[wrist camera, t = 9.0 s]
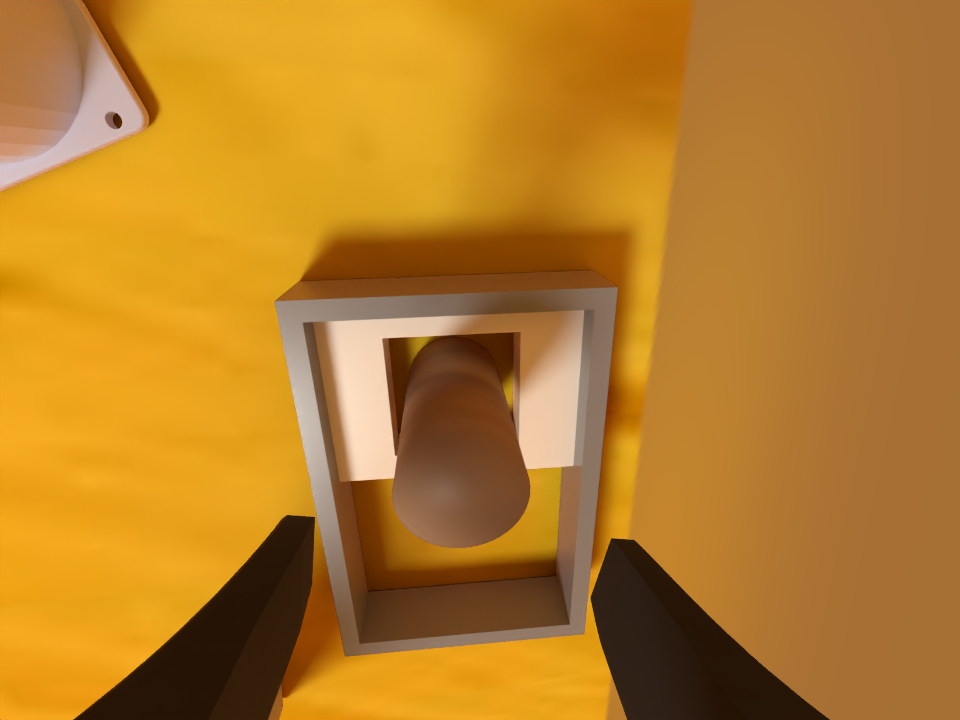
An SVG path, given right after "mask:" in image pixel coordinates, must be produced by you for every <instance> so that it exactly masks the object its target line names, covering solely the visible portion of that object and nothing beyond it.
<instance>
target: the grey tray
mask: <svg viewBox="0 0 960 720" xmlns="http://www.w3.org/2000/svg"><path fill="white" fill-rule="evenodd" d="M617 293H618V287H617V286H616V285H614V284H613V283H611V282H610V281H608V280H607V279H605V278H604V277H602V276H601V275H599V274H598V273H596V272H595V271H593V270H580V271H553V272H527V273H501V274H475V275H449V276H423V277H396V278H370V279H344V280H318V281H299V282H297V283H296V284H295V285H294V286H293V287H291V288H290V289H289V290H288V291H286V292H285V293H284V294H283V295H282V296H280V297H279V298H278V299H277V300H275V306H276V311H277V316H278V321H279V326H280V331H281V336H282V341H283V347H284V352H285V357H286V362H287V367H288V372H289V377H290V382H291V387H292V392H293V397H294V402H295V407H296V412H297V417H298V422H299V427H300V432H301V437H302V442H303V447H304V452H305V457H306V462H307V467H308V472H309V477H310V482H311V488H312V493H313V498H314V503H315V508H316V513H317V518H318V523H319V528H320V533H321V538H322V543H323V548H324V553H325V558H326V563H327V568H328V573H329V578H330V583H331V588H332V593H333V598H334V603H335V608H336V613H337V618H338V623H339V628H340V634H341V639H342V644H343V649H344V654H345V656H356V655H367V654H377V653H388V652H399V651H410V650H420V649H431V648H442V647H452V646H463V645H474V644H484V643H495V642H506V641H516V640H527V639H538V638H548V637H559V636H570V635H580V634H584V632H585V622H586V611H587V601H588V591H589V581H590V570H591V560H592V550H593V540H594V529H595V519H596V509H597V498H598V488H599V478H600V468H601V457H602V447H603V437H604V426H605V416H606V406H607V396H608V385H609V375H610V365H611V355H612V344H613V334H614V324H615V313H616V303H617ZM507 332H514V357H513V425H514V428H515V432H516V435H517V439H518V442H519V446H520V449H521V452H522V456H523V459H524V463H525V466H526V469H537V468H552V467H562V477H561V495H560V512H559V529H558V546H557V563H556V576H549V577H537V578H525V579H513V580H501V581H489V582H477V583H466V584H454V585H442V586H430V587H418V588H406V589H394V590H383V591H371V592H368V587H367V581H366V575H365V568H364V562H363V555H362V549H361V543H360V536H359V530H358V524H357V517H356V511H355V504H354V498H353V492H352V485H351V481H360V480H375V479H390V478H394V475H395V468H396V461H397V454H398V447H399V440H400V434H398V426H397V416H396V406H395V397H394V387H393V377H392V368H391V358H390V348H389V339H388V338H401V337H422V336H444V335H465V334H486V333H507Z"/></svg>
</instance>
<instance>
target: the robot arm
mask: <svg viewBox="0 0 960 720" xmlns="http://www.w3.org/2000/svg"><path fill="white" fill-rule="evenodd" d="M116 113H117V114H118V115H119V116H120V117H121V119H122V126H121V127H120V128H119V129H118V128H117V127H116V126H115V125H114V122H113V115H115V114H116ZM148 124H149V115H148V113H147V110H146V108H145V107H144V105H143V103H142V102H141V100H140V98H139V96H138V95H137V93H136V91H135V90H134V88H133V86H132V84H131V83H130V81H129V79H128V78H127V76H126V74H125V73H124V71H123V69H122V67H121V66H120V64H119V62H118V61H117V59H116V57H115V55H114V54H113V52H112V50H111V49H110V47H109V45H108V44H107V42H106V40H105V38H104V37H103V35H102V33H101V32H100V30H99V28H98V26H97V25H96V23H95V21H94V20H93V18H92V16H91V15H90V13H89V11H88V9H87V8H86V6H85V4H84V3H83V1H82V0H0V192H1V191H3V190H5V189H8V188H10V187H12V186H15V185H17V184H19V183H22V182H24V181H26V180H29V179H31V178H34V177H36V176H38V175H41V174H43V173H45V172H48V171H50V170H52V169H55V168H57V167H59V166H62V165H64V164H66V163H69V162H71V161H74V160H76V159H78V158H81V157H83V156H85V155H88V154H90V153H92V152H95V151H97V150H99V149H102V148H104V147H106V146H109V145H111V144H114V143H116V142H118V141H121V140H123V139H125V138H128V137H130V136H132V135H135V134H137V133H139V132H142V131H143V130H145V129H146V128H147V127H148ZM314 527H315V517H306V516H292V515H287V516H285V517H284V518H283V519H282V520H281V521H280V522H279V523H278V525H277V526H276V527H275V529H274V530H273V531H272V532H271V533H270V535H269V536H268V537H267V538H266V540H265V541H264V542H263V543H262V544H261V545H260V547H259V548H258V549H257V550H256V551H255V552H254V553H253V555H252V556H251V557H250V558H249V559H248V560H247V561H246V563H245V564H244V565H243V566H242V567H241V568H240V569H239V570H238V571H237V572H236V573H235V574H234V576H233V577H232V578H231V579H230V580H229V581H228V582H227V583H226V584H225V585H224V586H223V587H222V588H221V589H220V590H219V592H218V593H217V594H216V595H215V596H214V597H213V598H212V599H211V600H210V601H209V602H208V603H207V604H206V605H205V606H203V607H202V608H201V609H200V610H199V611H198V612H197V613H196V614H195V615H194V616H193V617H192V618H191V619H190V620H189V621H188V622H187V623H186V624H185V625H184V626H183V627H182V628H181V629H180V630H179V631H178V632H177V633H176V634H175V635H173V636H172V637H171V638H170V639H169V640H168V641H167V642H166V643H165V644H164V645H163V646H161V647H160V648H159V649H158V650H157V651H156V652H155V653H154V654H153V655H151V656H150V657H149V658H148V659H147V660H146V661H144V662H143V663H142V664H141V665H140V666H139V667H138V668H136V669H135V670H134V671H133V672H132V673H131V674H129V675H128V676H127V677H126V678H125V679H123V680H122V681H121V682H120V683H118V684H117V685H116V686H115V687H114V688H112V689H111V690H110V691H109V692H107V693H106V694H105V695H104V696H102V697H101V698H100V699H99V700H97V701H96V702H95V703H94V704H93V705H91V706H90V707H89V708H88V709H86V710H85V711H84V712H83V713H81V714H80V715H79V716H77V717H76V718H75V719H74V720H268V718H269V716H270V713H271V710H272V707H273V705H274V702H275V699H276V696H277V694H278V691H279V688H280V685H281V683H282V680H283V677H284V674H285V671H286V669H287V666H288V663H289V660H290V658H291V655H292V652H293V649H294V646H295V644H296V641H297V638H298V635H299V632H300V629H301V625H302V621H303V618H304V614H305V610H306V606H307V602H308V598H309V594H310V590H311V586H312V573H313V550H314ZM591 602H592V607H593V612H594V617H595V622H596V626H597V630H598V634H599V638H600V642H601V645H602V648H603V651H604V654H605V657H606V660H607V663H608V666H609V669H610V672H611V675H612V678H613V680H614V683H615V686H616V689H617V692H618V694H619V697H620V700H621V703H622V706H623V709H624V712H625V714H626V717H627V720H829V719H828V718H827V717H825V716H824V715H823V714H821V713H820V712H819V711H818V710H816V709H815V708H814V707H813V706H811V705H810V704H809V703H807V702H806V701H805V700H804V699H802V698H801V697H800V696H799V695H797V694H796V693H795V692H794V691H793V690H791V689H790V688H789V687H788V686H786V685H785V684H784V683H783V682H782V681H781V680H779V679H778V678H777V677H776V676H774V675H773V674H772V673H771V672H770V671H768V670H767V669H766V668H765V667H763V666H762V664H760V663H759V662H758V661H757V660H756V659H755V658H754V657H752V656H751V655H750V654H749V653H748V652H747V651H746V650H745V649H744V648H743V647H742V646H740V645H739V644H738V643H737V642H736V641H735V640H734V639H733V638H732V637H731V636H729V635H728V634H727V633H726V632H725V631H724V630H723V629H722V628H721V627H720V626H719V625H718V624H717V623H716V622H715V621H714V620H713V619H712V618H711V617H710V616H709V615H707V613H706V612H705V611H704V610H703V609H702V608H701V607H700V606H699V605H698V604H696V602H695V601H694V600H693V599H692V598H691V597H690V596H689V595H688V594H687V593H686V592H685V591H684V590H683V589H682V588H681V587H680V586H679V585H678V584H677V583H676V582H675V581H674V580H673V579H672V578H671V577H670V576H669V575H668V574H667V573H666V572H665V571H664V570H663V568H662V567H661V566H660V565H659V564H658V563H657V562H656V561H655V560H654V559H653V558H652V557H651V556H650V555H649V554H648V553H647V552H646V551H645V550H644V549H643V548H642V547H641V546H640V545H639V544H638V543H637V542H636V541H635V540H627V539H613V538H611V541H610V544H609V547H608V549H607V552H606V555H605V558H604V561H603V564H602V567H601V569H600V572H599V575H598V578H597V581H596V584H595V587H594V589H593V592H592V595H591Z"/></svg>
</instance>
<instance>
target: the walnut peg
mask: <svg viewBox="0 0 960 720" xmlns="http://www.w3.org/2000/svg"><path fill="white" fill-rule="evenodd" d="M529 497H530V481H529V477H528V473H527V470H526V466H525V463H524V459H523V456H522V452H521V449H520V446H519V442H518V439H517V435H516V432H515V428H514V425H513V421H512V418H511V414H510V411H509V408H508V404H507V401H506V397H505V394H504V390H503V387H502V383H501V380H500V377H499V373H498V370H497V366H496V363H495V361H494V359H493V357H492V356H491V354H490V353H489V352H488V351H487V350H486V349H485V348H484V347H483V346H482V345H480V344H479V343H477V342H475V341H473V340H470V339H467V338H463V337H446V338H441V339H438V340H435V341H433V342H431V343H429V344H428V345H426V346H425V347H424V348H423V349H421V351H420V352H419V353H418V354H417V355H416V357H415V358H414V360H413V362H412V364H411V367H410V371H409V378H408V385H407V392H406V398H405V405H404V412H403V419H402V426H401V433H400V440H399V447H398V454H397V461H396V468H395V475H394V481H393V488H392V499H393V505H394V509H395V512H396V514H397V516H398V518H399V519H400V521H401V522H402V524H403V525H404V526H405V527H406V528H407V529H408V530H409V531H410V532H411V533H413V534H414V535H415V536H417V537H419V538H420V539H422V540H424V541H426V542H429V543H432V544H434V545H438V546H443V547H450V548H465V547H473V546H478V545H481V544H485V543H487V542H490V541H492V540H494V539H496V538H498V537H500V536H502V535H503V534H505V533H506V532H507V531H509V530H510V529H511V528H512V527H513V526H514V525H515V524H516V523H517V522H518V521H519V519H520V518H521V516H522V515H523V513H524V511H525V509H526V507H527V504H528V501H529Z"/></svg>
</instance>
